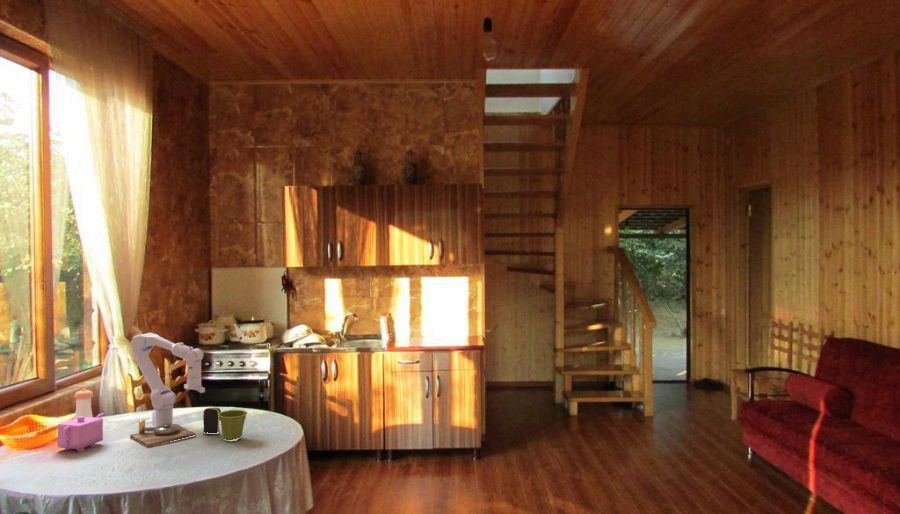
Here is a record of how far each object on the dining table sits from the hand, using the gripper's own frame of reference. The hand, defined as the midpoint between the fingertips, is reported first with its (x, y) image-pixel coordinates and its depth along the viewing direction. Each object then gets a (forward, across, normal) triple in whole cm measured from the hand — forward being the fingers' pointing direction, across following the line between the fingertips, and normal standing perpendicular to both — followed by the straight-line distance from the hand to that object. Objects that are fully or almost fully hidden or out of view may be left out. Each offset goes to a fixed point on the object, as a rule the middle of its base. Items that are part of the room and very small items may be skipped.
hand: (194, 406), depth 266 cm
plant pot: (+11, +26, +3) cm, 28 cm away
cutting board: (+10, +1, -14) cm, 18 cm away
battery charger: (+11, +12, +2) cm, 16 cm away
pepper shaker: (+10, -33, -33) cm, 48 cm away
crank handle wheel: (+8, -2, -15) cm, 17 cm away
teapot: (+10, -12, -41) cm, 44 cm away
